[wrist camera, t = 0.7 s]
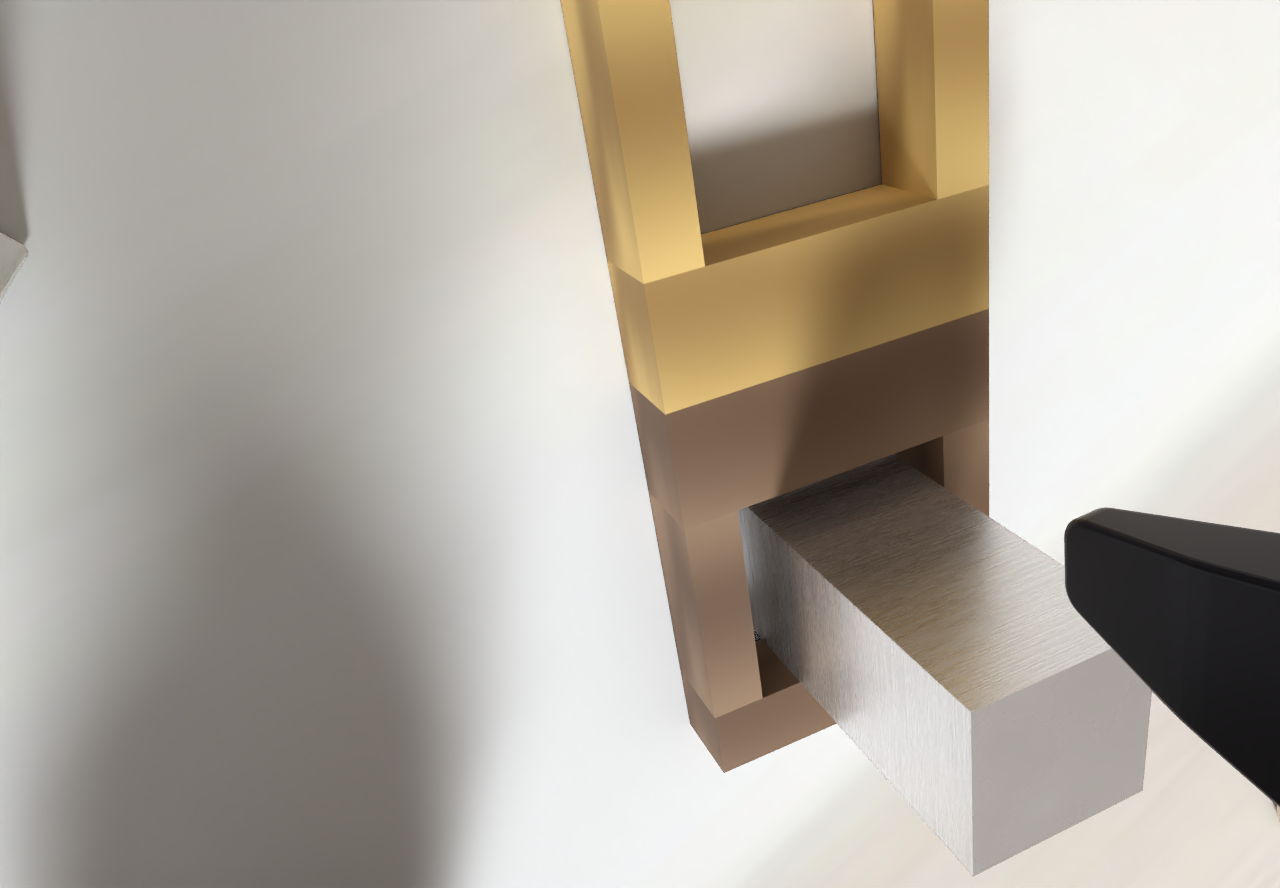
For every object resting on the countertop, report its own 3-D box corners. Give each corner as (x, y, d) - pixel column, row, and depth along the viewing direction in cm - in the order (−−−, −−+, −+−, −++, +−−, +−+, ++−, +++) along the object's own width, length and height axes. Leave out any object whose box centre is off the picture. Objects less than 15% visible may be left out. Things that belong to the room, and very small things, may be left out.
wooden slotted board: (942, 618, 29) (989, 656, 27) (690, 724, 27) (723, 773, 25) (920, -196, 20) (988, -214, 18) (537, -133, 18) (573, -147, 16)
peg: (877, 569, 28) (1142, 790, 20) (746, 621, 26) (973, 876, 19) (869, 438, 26) (1157, 627, 18) (727, 489, 25) (970, 712, 17)
